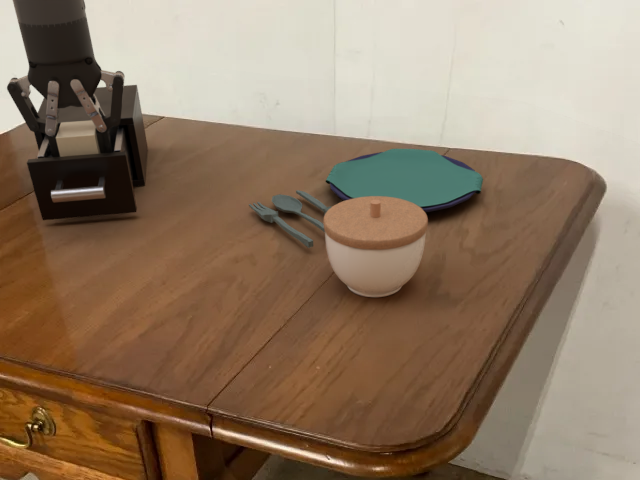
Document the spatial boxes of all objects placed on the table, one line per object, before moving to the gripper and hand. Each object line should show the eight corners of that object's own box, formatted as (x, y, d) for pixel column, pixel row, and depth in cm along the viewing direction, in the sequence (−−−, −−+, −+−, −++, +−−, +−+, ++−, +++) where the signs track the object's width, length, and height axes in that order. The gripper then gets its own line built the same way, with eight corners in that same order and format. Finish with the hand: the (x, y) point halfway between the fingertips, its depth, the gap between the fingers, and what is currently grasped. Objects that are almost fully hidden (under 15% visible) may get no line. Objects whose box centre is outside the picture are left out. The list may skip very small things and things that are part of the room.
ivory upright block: (64, 174, 96) (55, 137, 93) (69, 158, 100) (60, 122, 97) (102, 171, 96) (94, 134, 93) (105, 155, 101) (97, 119, 98)
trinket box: (441, 274, 85) (447, 193, 79) (393, 319, 78) (395, 234, 72) (358, 251, 90) (358, 173, 84) (306, 291, 83) (302, 209, 77)
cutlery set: (510, 199, 100) (512, 182, 99) (312, 262, 88) (312, 244, 86) (417, 153, 113) (418, 138, 112) (235, 202, 101) (233, 185, 100)
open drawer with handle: (135, 228, 94) (123, 169, 89) (37, 237, 92) (20, 177, 88) (140, 171, 108) (130, 118, 103) (55, 178, 107) (41, 124, 102)
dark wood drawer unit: (145, 185, 106) (132, 117, 100) (50, 193, 105) (31, 125, 99) (147, 147, 118) (136, 84, 112) (62, 154, 116) (46, 90, 111)
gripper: (-21, 25, 84) (22, 177, 94) (113, 17, 85) (140, 167, 96) (-8, 10, 89) (31, 154, 100) (117, 3, 91) (142, 146, 102)
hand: (84, 160), depth 98 cm, fingers closed on ivory upright block, 4 cm apart
